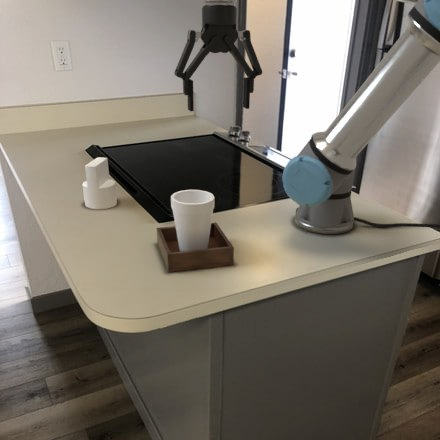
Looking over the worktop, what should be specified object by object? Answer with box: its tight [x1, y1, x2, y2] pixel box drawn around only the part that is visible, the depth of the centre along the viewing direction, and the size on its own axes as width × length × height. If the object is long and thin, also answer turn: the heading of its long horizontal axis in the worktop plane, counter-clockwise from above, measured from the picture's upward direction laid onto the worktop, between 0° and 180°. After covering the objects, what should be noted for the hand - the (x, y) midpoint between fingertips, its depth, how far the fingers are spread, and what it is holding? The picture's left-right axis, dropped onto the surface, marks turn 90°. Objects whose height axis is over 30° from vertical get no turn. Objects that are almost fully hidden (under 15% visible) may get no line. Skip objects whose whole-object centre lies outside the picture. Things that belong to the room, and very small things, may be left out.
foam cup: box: [170, 189, 216, 252], centre depth 109 cm, size 10×9×13 cm
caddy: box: [156, 222, 235, 273], centre depth 111 cm, size 15×15×4 cm
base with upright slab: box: [82, 156, 118, 210], centre depth 136 cm, size 9×9×12 cm
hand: (218, 109), depth 115 cm, fingers open, 13 cm apart
